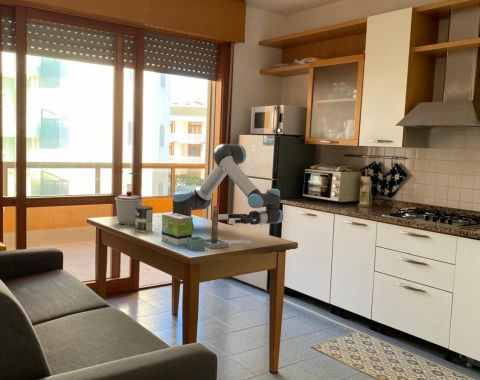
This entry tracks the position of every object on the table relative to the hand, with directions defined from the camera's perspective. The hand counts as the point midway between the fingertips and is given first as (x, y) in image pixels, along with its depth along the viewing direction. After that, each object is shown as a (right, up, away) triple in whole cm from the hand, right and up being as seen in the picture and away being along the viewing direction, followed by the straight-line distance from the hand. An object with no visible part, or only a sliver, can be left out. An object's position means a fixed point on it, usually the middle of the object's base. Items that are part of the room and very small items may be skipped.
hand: (223, 219), depth 248 cm
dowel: (-5, -13, -1) cm, 14 cm away
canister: (-63, -6, +53) cm, 82 cm away
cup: (-14, -15, -9) cm, 22 cm away
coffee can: (-49, -9, +34) cm, 60 cm away
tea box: (-25, -13, +5) cm, 29 cm away
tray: (-5, -14, -1) cm, 15 cm away
